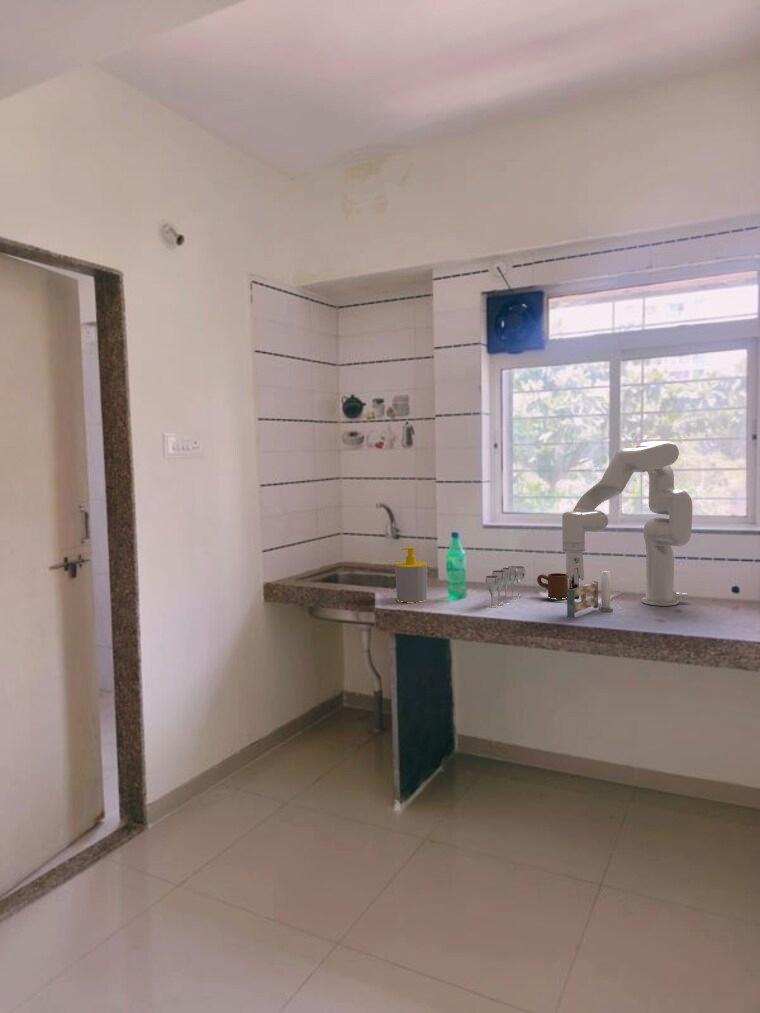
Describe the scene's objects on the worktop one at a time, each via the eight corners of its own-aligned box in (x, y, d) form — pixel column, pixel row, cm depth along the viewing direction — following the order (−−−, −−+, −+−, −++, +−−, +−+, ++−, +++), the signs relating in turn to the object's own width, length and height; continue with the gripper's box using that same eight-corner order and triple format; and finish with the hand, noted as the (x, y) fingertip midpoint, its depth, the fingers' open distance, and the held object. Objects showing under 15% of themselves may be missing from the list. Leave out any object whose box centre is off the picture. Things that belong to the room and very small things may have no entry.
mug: (534, 598, 268) (534, 575, 267) (540, 595, 275) (539, 571, 274) (565, 601, 262) (565, 577, 261) (570, 597, 269) (570, 573, 268)
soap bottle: (395, 597, 279) (394, 545, 277) (427, 596, 278) (426, 544, 277) (395, 604, 266) (393, 550, 264) (428, 603, 265) (427, 549, 264)
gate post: (610, 608, 248) (609, 570, 247) (613, 611, 243) (612, 572, 242) (598, 608, 248) (598, 570, 247) (601, 611, 243) (601, 572, 242)
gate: (594, 606, 247) (594, 580, 246) (599, 607, 246) (598, 581, 245) (567, 617, 233) (566, 589, 232) (572, 618, 232) (571, 590, 231)
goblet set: (496, 610, 251) (495, 574, 250) (482, 608, 254) (481, 573, 253) (528, 596, 273) (528, 563, 272) (515, 595, 277) (514, 562, 276)
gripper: (588, 549, 231) (588, 603, 233) (581, 543, 246) (581, 594, 248) (565, 550, 232) (566, 603, 234) (559, 544, 247) (560, 594, 249)
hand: (574, 598), depth 241 cm, fingers closed
